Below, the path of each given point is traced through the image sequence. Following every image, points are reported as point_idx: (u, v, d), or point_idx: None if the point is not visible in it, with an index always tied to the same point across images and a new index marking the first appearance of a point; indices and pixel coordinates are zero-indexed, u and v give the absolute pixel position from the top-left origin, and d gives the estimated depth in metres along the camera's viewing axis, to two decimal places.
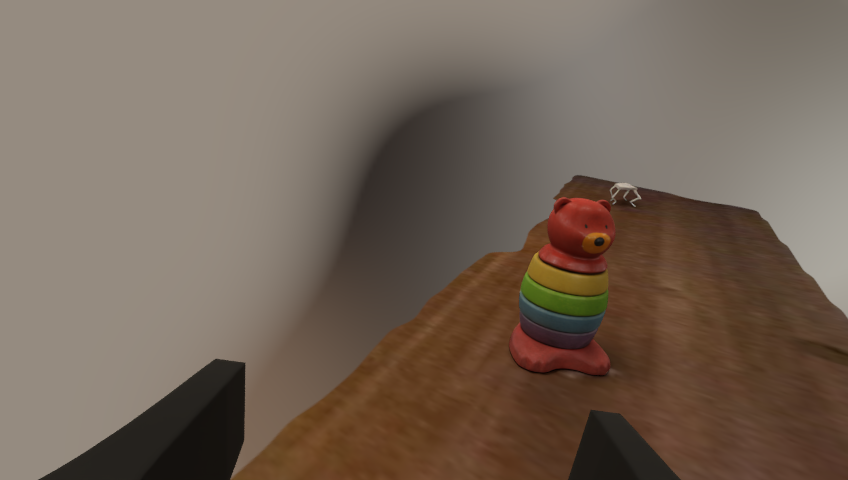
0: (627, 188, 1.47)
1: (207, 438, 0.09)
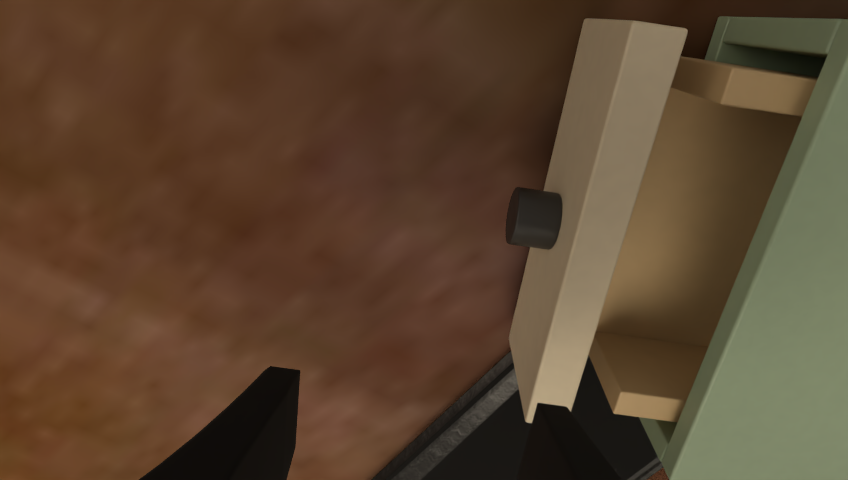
0: None
1: (270, 446, 0.09)
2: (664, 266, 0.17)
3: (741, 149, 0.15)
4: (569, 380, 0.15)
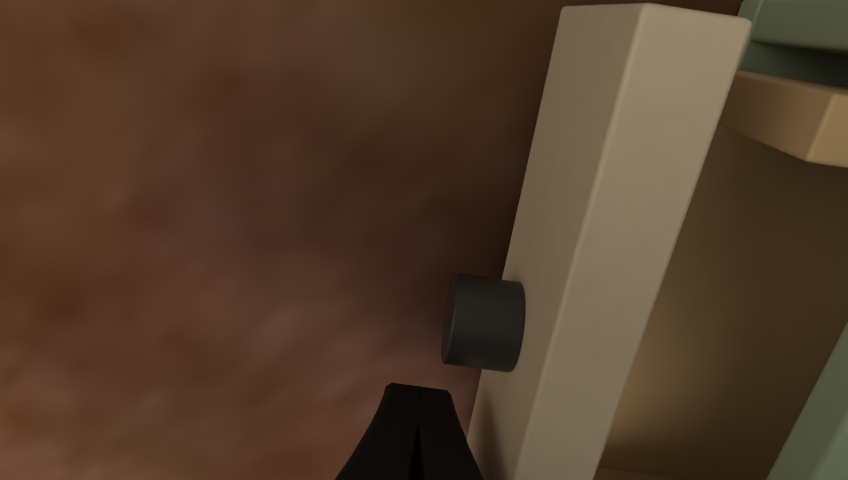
0: None
1: (410, 465, 0.09)
2: (685, 378, 0.11)
3: (809, 212, 0.10)
4: None
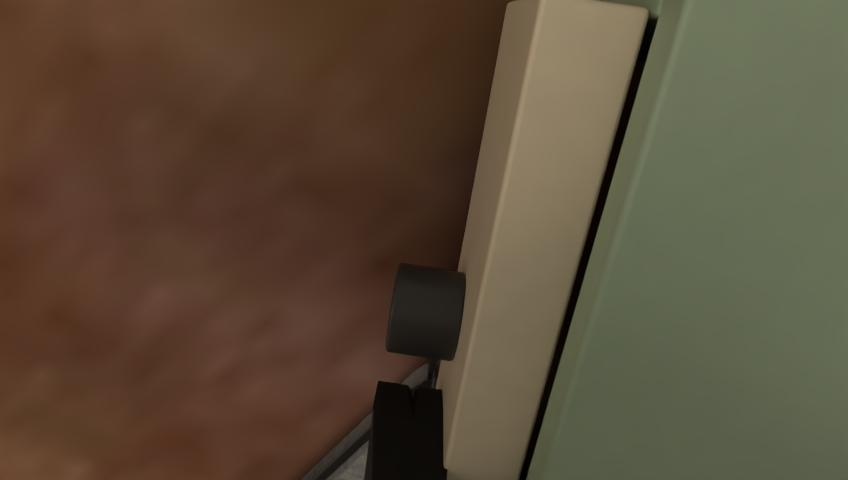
0: None
1: None
2: None
3: None
4: None
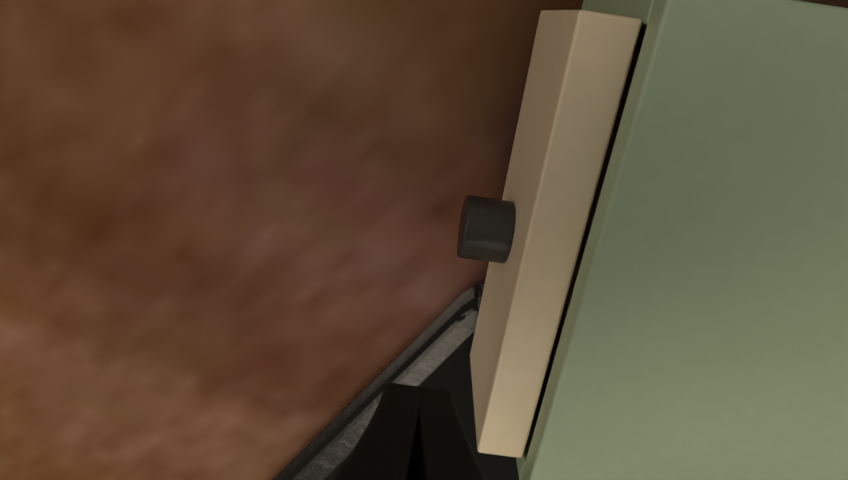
0: None
1: None
2: None
3: None
4: (523, 407, 0.13)
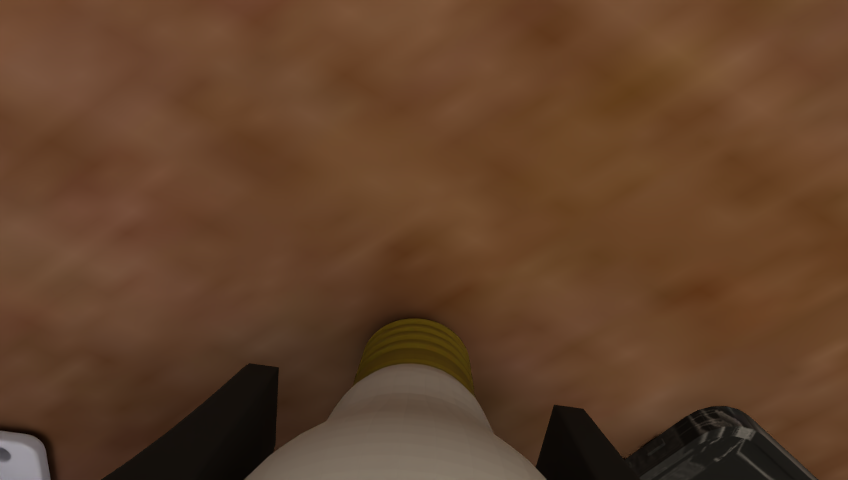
0: None
1: (246, 443, 0.09)
2: None
3: None
4: None
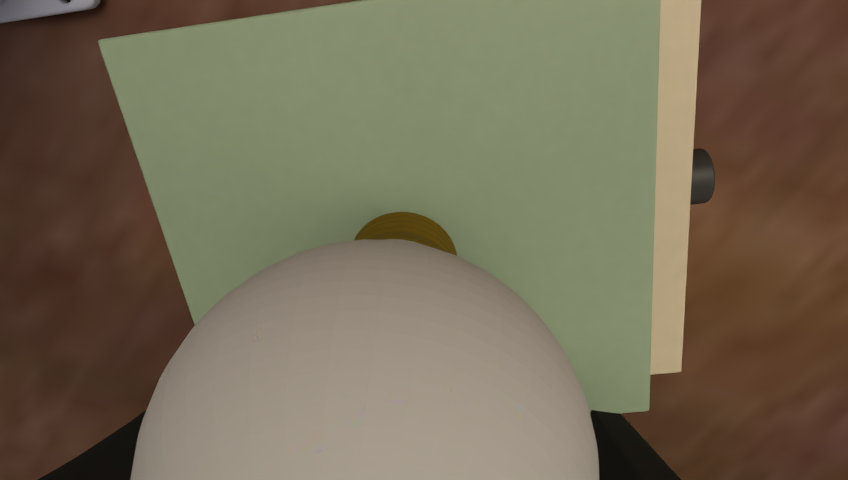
0: None
1: None
2: None
3: None
4: (661, 61, 0.13)
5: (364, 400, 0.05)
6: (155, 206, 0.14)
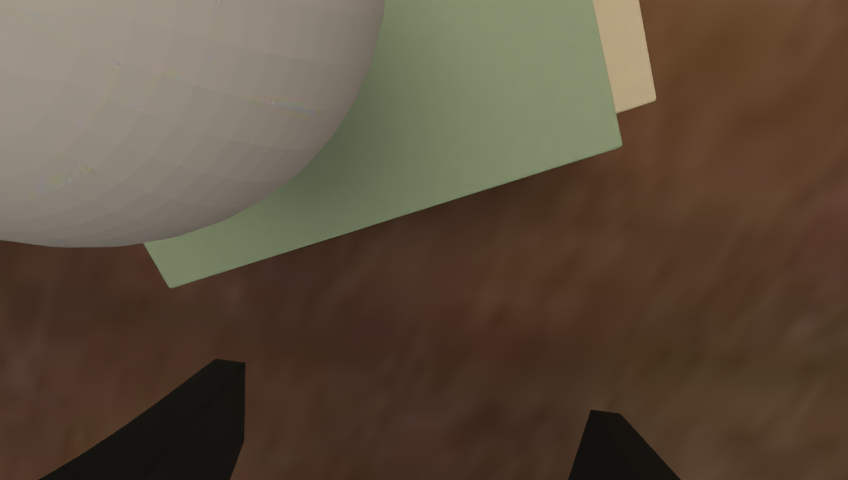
0: None
1: (207, 438, 0.09)
2: None
3: None
4: None
5: None
6: None
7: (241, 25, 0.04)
